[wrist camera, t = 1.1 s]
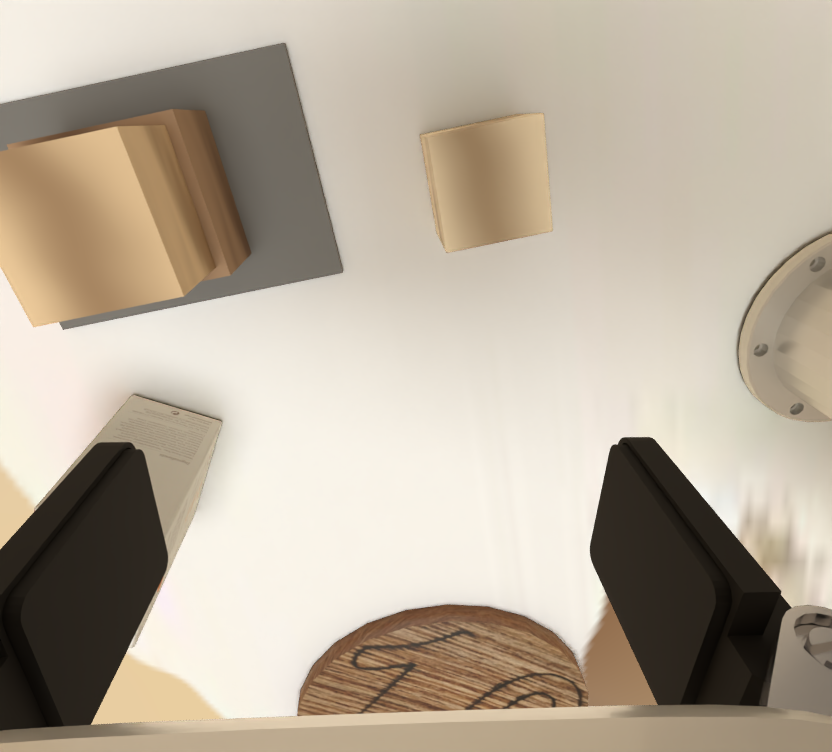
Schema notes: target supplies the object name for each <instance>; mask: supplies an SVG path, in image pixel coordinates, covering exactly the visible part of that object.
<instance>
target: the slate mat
mask: <svg viewBox="0 0 832 752" xmlns="http://www.w3.org/2000/svg"><path fill="white" fill-rule="evenodd" d="M170 109H181V110H203V111H205V112H206V115H207V118H208V122H209V125H210V128H211V131H212V134H213V137H214V140H215V143H216V146H217V149H218V152H219V155H220V158H221V161H222V164H223V167H224V171H225V174H226V177H227V180H228V183H229V186H230V189H231V192H232V195H233V198H234V201H235V204H236V207H237V210H238V213H239V216H240V220H241V223H242V226H243V229H244V232H245V235H246V238H247V241H248V244H249V247H250V250H251V255H250V256H249V257H248V258H247V259H246V260H245V261H244V262H243V263H242V264H241V265H240V266H239V267H238V268H237V269H236V270H235V271H234V272H233V273H232V275H230V276H225V277H221V278H216V279H211V280H206V281H201V282H199V283H198V284H197V285H196V286H195V287H194V288H193V289H192V290H191V291H189V292H188V293H187V294H186V295H185V296H184V297H179V298H174V299H169V300H164V301H159V302H154V303H149V304H145V305H140V306H135V307H130V308H125V309H120V310H115V311H110V312H105V313H101V314H96V315H91V316H86V317H81V318H76V319H71V320H66V321H62V322H59V323H60V325H61V327H62V329H63V330H64V329H69V328H74V327H79V326H84V325H89V324H93V323H98V322H103V321H108V320H113V319H118V318H123V317H128V316H133V315H138V314H142V313H147V312H152V311H157V310H162V309H167V308H172V307H177V306H182V305H186V304H191V303H196V302H201V301H206V300H211V299H216V298H221V297H226V296H231V295H235V294H240V293H245V292H250V291H255V290H260V289H265V288H270V287H275V286H279V285H284V284H289V283H294V282H299V281H304V280H309V279H314V278H319V277H324V276H328V275H333V274H338V273H343V269H342V265H341V261H340V257H339V253H338V249H337V245H336V241H335V237H334V234H333V230H332V226H331V222H330V218H329V214H328V210H327V206H326V202H325V198H324V194H323V190H322V186H321V182H320V178H319V175H318V171H317V167H316V163H315V159H314V155H313V151H312V147H311V143H310V139H309V135H308V131H307V127H306V123H305V120H304V116H303V112H302V108H301V104H300V100H299V96H298V92H297V88H296V84H295V80H294V76H293V72H292V68H291V64H290V61H289V57H288V53H287V49H286V45H285V43H281V44H277V45H272V46H267V47H263V48H258V49H254V50H249V51H244V52H240V53H235V54H230V55H226V56H221V57H217V58H212V59H207V60H203V61H198V62H194V63H189V64H184V65H180V66H175V67H170V68H166V69H161V70H157V71H152V72H147V73H143V74H138V75H134V76H129V77H124V78H120V79H115V80H110V81H106V82H101V83H97V84H92V85H87V86H83V87H78V88H74V89H69V90H64V91H60V92H55V93H51V94H46V95H41V96H37V97H32V98H27V99H23V100H18V101H14V102H9V103H4V104H0V151H4V150H9V149H8V147H7V144H12V143H17V142H21V141H26V140H31V139H35V138H40V137H44V136H49V135H54V134H58V133H63V132H68V131H72V130H77V129H82V128H86V127H91V126H96V125H100V124H105V123H110V122H114V121H119V120H124V119H128V118H133V117H138V116H142V115H147V114H152V113H156V112H161V111H166V110H170Z"/></svg>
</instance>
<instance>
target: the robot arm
mask: <svg viewBox="0 0 832 752" xmlns="http://www.w3.org/2000/svg"><path fill="white" fill-rule="evenodd" d="M738 352H739V364H740V370H741V373H742V376H743V379H744V382H745V384H746V385H747V387H748V388H749V390H750V392H751V393H752V395H753V396H755V397H756V398H757V399H758V400H759V401H760V402H761V403H762V404H764V405H765V406H767V407H768V408H770V409H771V410H772V411H774V412H775V413H777V414H779V415H781V416H784V417H786V418H789V419H792V420H798V421H805V422H825V421H831V420H832V233H831V234H828V235H826V236H824V237H822V238H820V239H819V240H817V241H815V242H813V243H812V244H810V245H808V246H806V247H805V248H803V249H802V250H801V251H800V252H798V253H797V254H796V255H794V256H793V257H792V258H791V259H789V260H788V261H787V262H786V263H785V264H784V265H783V266H782V267H781V268H780V269H779V270H778V271H777V272H776V273H775V274H774V275H773V276H772V277H771V278H770V279H769V281H768V282H767V283H766V285H765V286H764V287H763V289H762V290H761V291H760V293H759V294H758V296H757V297H756V299H755V301H754V303H753V305H752V307H751V309H750V310H749V312H748V314H747V317H746V320H745V323H744V326H743V329H742V332H741V337H740V344H739V351H738ZM590 556H591V560H592V563H593V566H594V568H595V570H596V572H597V574H598V576H599V579H600V581H601V583H602V585H603V587H604V589H605V592H606V594H607V596H608V598H609V600H610V602H611V604H612V607H613V609H614V611H615V613H616V615H617V617H618V619H619V622H620V624H621V626H622V628H623V630H624V633H625V635H626V637H627V639H628V641H629V644H630V646H631V648H632V650H633V652H634V654H635V657H636V659H637V661H638V663H639V665H640V667H641V670H642V672H643V674H644V676H645V678H646V680H647V683H648V685H649V687H650V689H651V691H652V693H653V695H654V698H655V700H656V702H657V704H658V705H636V706H635V705H634V706H593V707H592V706H590V707H556V708H522V709H487V710H455V711H426V712H397V713H368V714H340V715H313V716H285V717H260V718H235V719H212V720H188V721H187V720H186V721H164V722H163V721H162V722H138V723H116V724H101V725H100V724H98V725H91V723H92V721H93V719H94V717H95V715H96V713H97V711H98V709H99V707H100V705H101V702H102V701H103V699H104V696H105V694H106V692H107V690H108V688H109V686H110V684H111V682H112V680H113V678H114V676H115V674H116V672H117V670H118V668H119V666H120V664H121V662H122V660H123V658H124V656H125V654H126V652H127V650H128V648H129V646H130V644H131V642H132V640H133V638H134V635H135V633H136V631H137V629H138V627H139V625H140V623H141V621H142V619H143V617H144V615H145V613H146V611H147V609H148V607H149V605H150V603H151V601H152V599H153V597H154V595H155V593H156V591H157V589H158V587H159V585H160V583H161V581H162V579H163V576H164V574H165V572H166V569H167V565H168V551H167V547H166V543H165V539H164V534H163V530H162V526H161V522H160V517H159V513H158V509H157V505H156V500H155V496H154V492H153V488H152V484H151V479H150V475H149V471H148V467H147V462H146V458H145V455H144V452H143V451H142V450H140V449H136V448H135V446H134V445H133V444H132V443H130V442H100V443H97V444H96V445H94V446H93V447H92V449H91V450H90V451H89V452H88V453H87V454H86V455H85V456H84V457H83V459H82V460H81V461H80V462H79V463H78V464H77V465H76V466H75V467H74V469H73V470H72V471H71V472H70V473H69V474H68V475H67V476H66V477H65V478H64V480H63V481H62V482H61V483H60V484H59V485H58V486H57V487H56V488H55V490H54V491H53V492H52V493H51V494H50V495H49V496H48V497H47V498H46V500H45V501H44V502H43V503H42V504H41V505H40V506H39V507H38V508H37V510H36V511H35V512H34V513H33V514H32V515H31V516H30V517H29V518H28V519H27V521H26V522H25V523H24V524H23V525H22V526H21V527H20V528H19V529H18V531H17V532H16V533H15V534H14V535H13V536H12V537H11V538H10V540H9V541H8V542H7V543H6V544H5V545H4V546H3V547H2V548H1V549H0V752H832V610H831V609H828V608H825V607H819V606H812V605H803V606H795V607H793V608H791V607H790V605H789V604H788V603H787V602H786V600H785V599H784V598H783V597H782V596H781V590H780V589H779V588H778V587H777V586H776V584H775V583H774V582H773V581H772V580H771V578H770V577H769V576H768V575H767V574H766V572H765V571H764V570H763V569H762V568H761V566H760V565H759V564H758V563H757V562H756V560H755V559H754V558H753V557H752V556H751V555H750V553H749V552H748V551H747V550H746V549H745V547H744V546H743V545H742V544H741V543H740V541H739V540H738V539H737V538H736V537H735V535H734V534H733V533H732V532H731V531H730V529H729V528H728V527H727V526H726V525H725V523H724V522H723V521H722V520H721V519H720V517H719V516H718V515H717V514H716V513H715V511H714V510H713V509H712V508H711V507H710V505H709V504H708V503H707V502H706V501H705V499H704V498H703V497H702V496H701V495H700V493H699V492H698V491H697V490H696V489H695V487H694V486H693V485H692V484H691V483H690V481H689V480H688V479H687V478H686V477H685V476H684V474H683V473H682V472H681V471H680V470H679V468H678V467H677V466H676V465H675V464H674V462H673V461H672V460H671V459H670V458H669V456H668V455H667V454H666V453H665V452H664V450H663V449H662V448H661V447H660V446H659V444H658V443H657V442H656V441H655V440H654V439H653V438H650V437H624V438H622V439H621V440H620V441H619V443H618V445H613V446H612V447H611V449H610V452H609V457H608V461H607V466H606V471H605V476H604V481H603V486H602V490H601V495H600V500H599V505H598V510H597V515H596V519H595V524H594V529H593V534H592V539H591V543H590Z"/></svg>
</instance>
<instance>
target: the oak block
mask: <svg viewBox="0 0 832 752" xmlns="http://www.w3.org/2000/svg"><path fill="white" fill-rule="evenodd" d="M0 267H1V269H2V270H3V272H4V274H5V276H6V278H7V280H8V282H9V283H10V285H11V287H12V289H13V291H14V293H15V295H16V296H17V298H18V300H19V302H20V304H21V306H22V307H23V309H24V311H25V313H26V315H27V317H28V319H29V320H30V322H31V324H32V326H33V327H37V326H42V325H47V324H52V323H57V322H62V321H66V320H71V319H76V318H81V317H86V316H91V315H96V314H101V313H105V312H110V311H115V310H120V309H125V308H130V307H135V306H140V305H145V304H149V303H154V302H159V301H164V300H169V299H174V298H179V297H184V296H185V295H186V294H187V293H188V292H189V291H191V290H192V289H193V288H194V287H195V286H196V285H197V284H198V283H199V282H200V281H202V280H203V279H204V278H205V277H206V276H207V275H208V274H209V273H210V272H211V271H213V270H214V269H215V268H216V265H215V262H214V259H213V256H212V254H211V251H210V248H209V245H208V243H207V240H206V237H205V234H204V231H203V229H202V226H201V223H200V220H199V218H198V215H197V212H196V209H195V206H194V204H193V201H192V198H191V195H190V193H189V190H188V187H187V184H186V181H185V179H184V176H183V173H182V170H181V168H180V165H179V162H178V159H177V156H176V154H175V151H174V148H173V145H172V143H171V140H170V137H169V134H168V131H167V129H166V126H165V125H149V126H116V127H112V128H107V129H102V130H98V131H93V132H88V133H84V134H79V135H74V136H70V137H65V138H60V139H56V140H51V141H46V142H42V143H37V144H32V145H28V146H23V147H18V148H14V149H9V150H4V151H0Z"/></svg>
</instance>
